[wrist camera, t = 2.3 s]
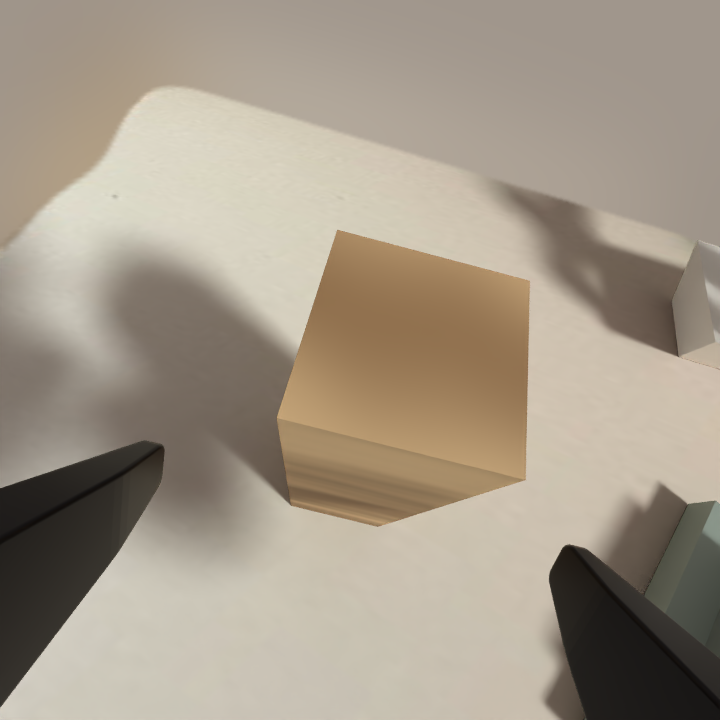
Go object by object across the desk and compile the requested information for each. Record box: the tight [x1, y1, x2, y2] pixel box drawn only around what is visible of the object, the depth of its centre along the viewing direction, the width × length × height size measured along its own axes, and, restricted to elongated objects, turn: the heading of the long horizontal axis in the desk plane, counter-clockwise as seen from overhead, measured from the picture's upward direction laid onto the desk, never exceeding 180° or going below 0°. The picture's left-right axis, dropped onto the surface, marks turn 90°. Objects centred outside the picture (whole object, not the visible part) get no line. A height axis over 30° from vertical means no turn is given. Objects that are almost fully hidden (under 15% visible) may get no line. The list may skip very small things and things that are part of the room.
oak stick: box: [277, 230, 530, 527], centre depth 13 cm, size 4×4×13 cm
